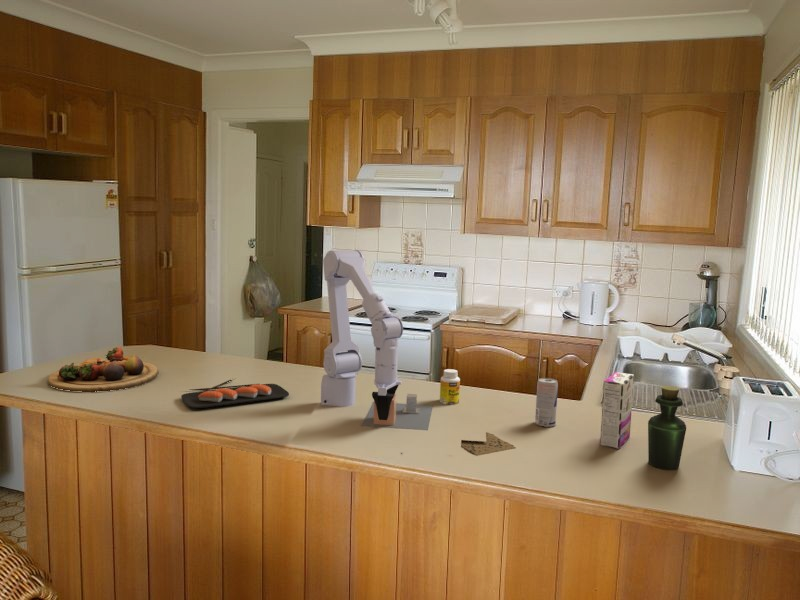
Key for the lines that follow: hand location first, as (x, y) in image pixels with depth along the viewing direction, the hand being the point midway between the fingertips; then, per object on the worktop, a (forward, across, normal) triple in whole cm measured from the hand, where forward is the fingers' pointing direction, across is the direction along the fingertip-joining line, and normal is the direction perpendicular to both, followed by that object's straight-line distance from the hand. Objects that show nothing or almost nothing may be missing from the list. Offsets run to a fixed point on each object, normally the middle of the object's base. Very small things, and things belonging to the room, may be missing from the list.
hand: (385, 415), depth 172 cm
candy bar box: (+3, -1, -58) cm, 58 cm away
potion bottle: (+3, -15, -66) cm, 68 cm away
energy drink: (+3, +9, -42) cm, 43 cm away
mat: (+3, +6, -3) cm, 7 cm away
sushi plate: (+3, +21, +50) cm, 54 cm away
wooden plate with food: (+3, +28, +93) cm, 97 cm away
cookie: (+3, -9, -25) cm, 27 cm away
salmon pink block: (+2, 0, 0) cm, 2 cm away
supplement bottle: (+3, +21, -16) cm, 27 cm away
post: (+2, +10, -6) cm, 12 cm away
